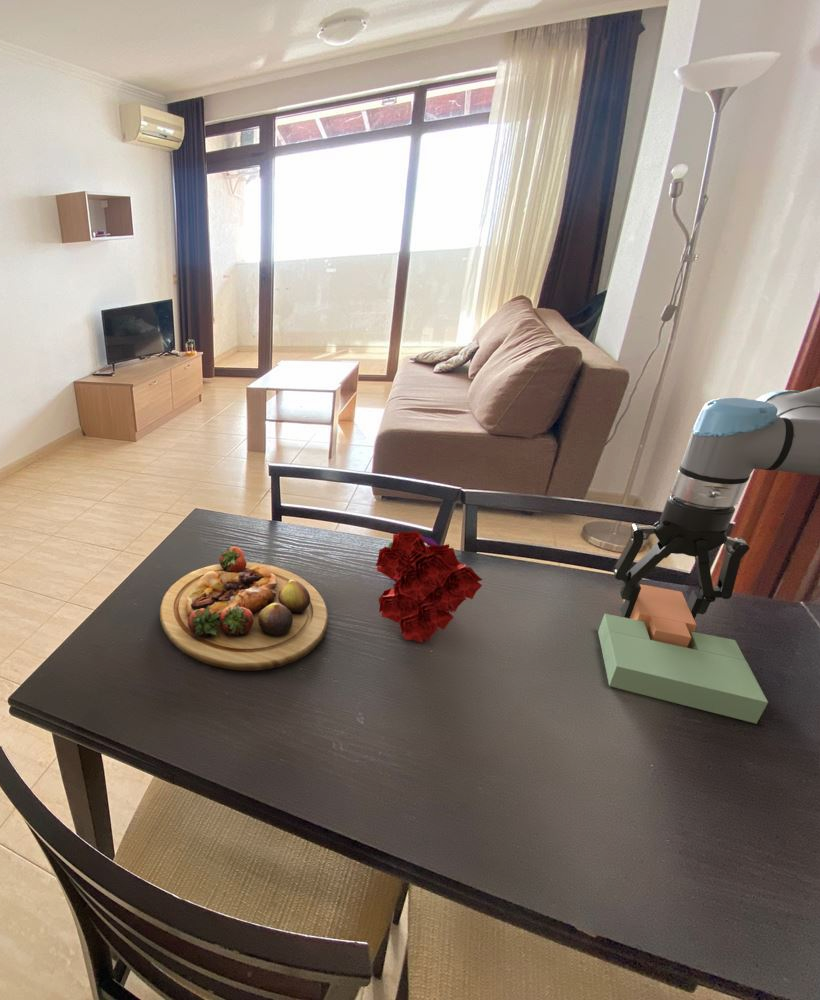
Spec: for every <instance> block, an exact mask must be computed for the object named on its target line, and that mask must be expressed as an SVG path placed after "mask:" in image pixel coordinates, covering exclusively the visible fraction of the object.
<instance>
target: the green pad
mask: <svg viewBox="0 0 820 1000" xmlns="http://www.w3.org/2000/svg"><path fill="white" fill-rule="evenodd" d="M598 628H599V629H598V631H597V634H598V638H599V642H600V647H601V653H602V658H603V662H604V667H605V673H606V678H607V682H608V686H609V687H611V688H615V689H619V690H623V691H626V692H631V693H635V694H639V695H643V696H646V697H650V698H655V699H658V700H662V701H665V702H670V703H672V704H677V705H681V706H685V707H689V708H693V709H698V710H701V711H705V712H709V713H713V714H716V715H721V716H725V717H729V718H733V719H735V720H736V719H737V720H741V721H744V722H747V723H752V724H755V725H757V724H758V722H759V720H760V718H761V716H763V713H764V711H765V710H766V708H767V706H768V704H769V701H768V699H767V697H766V695H765V694H764V691H763V690H762V688H761V685H760V684H759V682H758V681H757V678H756V676H755V675H754V673H753V671H752V669H751V667H750V665H749V663H748V662H747V660H746V658H745V656H744V654H743V653H742V651H741V648H740V646H739V644H738V643H737V640H736V639H732V638H726V637H722V636H716V635H712V634H708V633H707V634H706V633H702V632H697V631H694V632H692V631H690V636H691V640H690V642H689V644H688V647H687V648H686V647H681V646H676V645H672V644H667V643H662V642H658V641H653V640H650V638H649V635H648V632H647V628H646V625H645V622H644V621H639V620H634V619H629V618H624V617H623V616H618V615H613V614H608V613H604V614H603V617H602V620H601V623H600V625H599V627H598Z"/></svg>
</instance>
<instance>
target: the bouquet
mask: <svg viewBox="0 0 820 1000" xmlns="http://www.w3.org/2000/svg"><path fill="white" fill-rule="evenodd" d="M466 565H467V564H466V563H461V562H460V561H459V560H458V558H457V556H456V552H455V549H454V547H450V544H449V543H448V544H442V545H439V543H437V542H436V541H435V540H434V538H431V537H427V536H423V535H422V534H421V533H419V532H418V530H413V531H397V533H393V536H392V542H389V544H388V546H384V547H382V548H380V549H379V550H378V556H377V561H376V563H375V566H376V571H377V572H379V573H380V574H382V575H384V576H386V577H388V578H389V579H390V580H392V581H394V582H395V583H394V584H393V588H388V589H385V590H383V592H382V593H381V595H380V596H379V598H378V604H379V609H378V610H379V613H381V618H384V619H388V620H391V621H393V622H395V623H398V625H399V629H400V634H401V636H403V639H404V640H410V641H415V642H419V643H424V640H426V641H427V642H429V641H430V639H431V637H432V636H433V635H434V634H435V633H436V632H439V628H440V629H442V630H445V629H446V628H447V626H448V625H449V623H450V622H451V621H452V620H453V619H454V615H453V614H452V613H456V611H457V609H458V608H459V607H460V606H461V605H462V603H464V602H465V601H467V599H470V600H473V599H474V597H475V595H476V593H477V592H478V591H479V590H480V589H481V588H482V586H483V584H481V583H480V582H481V581H483V579H482V578H481V577H480V576H479V575H478V574H477V573H476V572H475V571H474V569H473V567H471V566H470V567H469V566H468V567H466Z"/></svg>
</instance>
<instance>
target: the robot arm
mask: <svg viewBox="0 0 820 1000" xmlns="http://www.w3.org/2000/svg"><path fill="white" fill-rule="evenodd" d="M686 445H687V446H686V449H685V452H684V453H683V454H684V455H683V456H682V457H683V458H682V460H681V464H680V465H679V468H678V470H677V472H676V475H675V478H674V480H673V483H672V485H671V489H670V492H669V493H671V494H670V495H668V497H667V500H666V501H665V505H664V507H663V510H662V513H661V515H660V519H659V520H658V521H656V522H655V523H654V524H653V525H641V524H640V523H632V524H631V526H630V536H629V539H628V540H627V542H626V544H625V546H624V548H623V550H622V552H621V554H620V556H619V557H618V559H617V561H616V563H615V565H614V567H613V568H612V572H613V576H614V578H615V579H616V580H617V581H622V582H623V583H622V586H621V589H620V591H619V593H620V596H621V600H624V599H625V601H623V604H622V607H621V612H622V617H624V618H629V619H630V616H631V613H632V611H633V608H634V605H635V603H636V601H637V598H638V595H639V593H640V590H641V586H640V582H641V581H642V580H643V578H645V577H646V576H647V575H648V574H649V573H650V572H651V571H652V570H653V569H654V568H655V567H656V566H658V565H659V564H660V563H661V562H662V561H663V560H664V559H667V558H668V557H669V556H670V555H671V554H675V555H686V556H688V557H694V561H695V562H694V563H695V567H696V573H697V580H698V585H699V590H697V589H691V592H690V594H689V597H688V599H687V601H686V602H687V605H688V607H689V609H690V611H691V613H692V616H693V618H694V620H695V619H696V617H697V615H698V614H699V615H705V614H706V613H707V612H708V611H707V610H708V609H709V606H710V604H711V603H713V602H715V601H716V599H718V598H719V599H720V598H721V599H724V600H729V599H731V598H732V596H733V592H734V589H735V583H736V580H737V576H738V573H739V568H740V564H741V560H742V558H743V557H744V556H745V555H746V554H747V552H748V551H749V550H750V546H749V544H748V543H747V541H746V540H745V538H743V537H731V536H728V535H727V530H728V528H729V526H730V524H731V521H732V518H733V516H734V514H735V512H736V508H735V506H738V504H739V502H740V499H741V497H742V494H743V492H744V490H745V488H746V485H747V483H748V481H749V480H750V477H751V474H752V473H753V471H754V470H762V471H773V472H774V471H775V472H784V473H794V474H803V475H812V476H813V475H814V476H820V386H817V387H813V388H810V389H806V390H803V391H799V390H793V389H780V390H774V391H770V392H767V393H764V394H763V395H761V396H760V397H758V398H757V399H755V398H754V399H749V398H744V397H720V398H714V399H712V400H709V401H708V402H705V404H704V405H703V407H702V408H701V410H700V412H699V414H698V416H697V418H696V421H695V423H694V425H693V426H692V427H691V434H690V436H689V439H688V443H687V444H686ZM651 535H655V536H656V538H657V541H656V542H655V543H653V546H652V548H650V550H649V551H648V552H646V554H644V555H643V556H642V557H641V559H639V560H638V561H637V562H636V563H635V564H634V565H633V563H634V561H635V559H636V557H637V556H638V555H639V553H640V550H641V548H642V547H643V545H644V541H647V540H648V539H649V538H650V536H651ZM722 545H723V548H724V550H725V551H724V554H723V557H722V561H721V562H722V563H721V566H720V570H719V575H718V579H717V582H716V585H715V586H714V584H713V579H712V578H713V577H712V573H711V566H710V556H709V552H710V551H712V550H714V549H717V548H718V547H720V546H722ZM632 565H633V566H632Z"/></svg>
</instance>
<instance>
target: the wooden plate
mask: <svg viewBox="0 0 820 1000" xmlns="http://www.w3.org/2000/svg"><path fill="white" fill-rule="evenodd" d="M218 560H219V563H216V564H212V565H207V566H205V567H202V568H198V569H196V570H193V571H191V572H189V573H187V574H185V575H184V576H182V577H180V578H179V579H178V580H177V581H175V582H174V583H173V584H172V585H171V586H170V587H169V588H168V590H167V591H165V594H164V596H163V598H162V600H161V604H160V606H159V607H160V608H159V620H160V624H161V627H162V629H163V632H164V633H165V635H166V637H167V638H168V639H169V640H170V642H171V643H172V644H173V645H174V646H175V647H177V648H178V649H179V650H180V651H181V652H183V654H186V655H187V656H189V657H192V658H193V659H195V660H197V661H199V662H201V663H204V664H207V665H210V666H213V667H217V668H223V669H227V670H234V671H264V670H271V669H275V668H276V669H277V668H279V667H284V666H286V665H289V664H292V663H294V662H296V661H298V660H301V659H302V658H305V657H306V656H307V655H308V654H310V653H311V652H312V651H313V650H314V649H316V647H317V646H318V645H320V643H321V642H322V640H323V639H324V638H325V637H324V636H325V635H326V632H327V628H328V625H329V614H328V613H329V612H328V608H327V605H326V603H325V601H324V599H323V597H322V595H321V594H320V592H319V591H318V590H317V589H316V588H315V586H313V585H311V583H309V582H308V581H307V580H305V579H304V578H302V577H301V576H299V575H297V574H295V573H293V572H291V571H289V570H286V569H283V568H281V567H277V566H274V565H270V564H265V563H260V562H259V563H258V562H250V561H246V558H245V552H244V551H243V550H242V549H241V548H240V547H238V546H231V547H230V548H227V549H226V551H224V552H223V551H221V554H220V555H219V559H218Z"/></svg>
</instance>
